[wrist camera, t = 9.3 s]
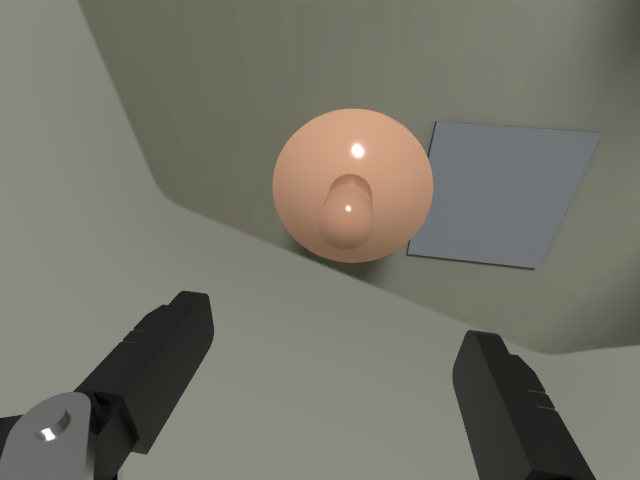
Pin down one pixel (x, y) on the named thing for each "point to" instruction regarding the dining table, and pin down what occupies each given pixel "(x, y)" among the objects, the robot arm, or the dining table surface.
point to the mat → (500, 191)
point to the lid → (353, 185)
